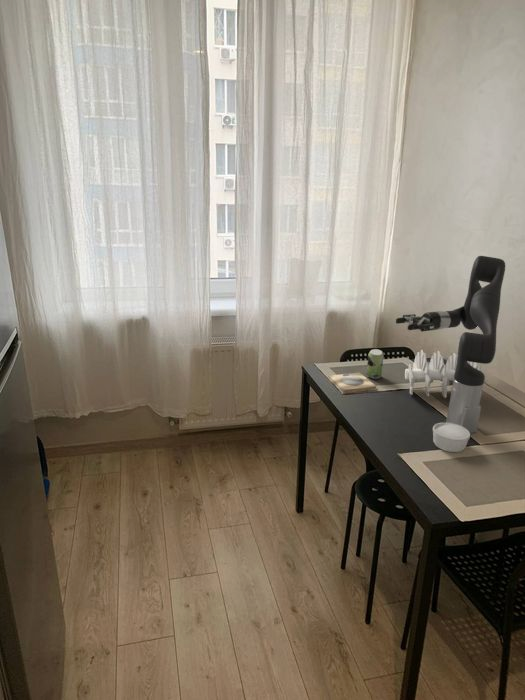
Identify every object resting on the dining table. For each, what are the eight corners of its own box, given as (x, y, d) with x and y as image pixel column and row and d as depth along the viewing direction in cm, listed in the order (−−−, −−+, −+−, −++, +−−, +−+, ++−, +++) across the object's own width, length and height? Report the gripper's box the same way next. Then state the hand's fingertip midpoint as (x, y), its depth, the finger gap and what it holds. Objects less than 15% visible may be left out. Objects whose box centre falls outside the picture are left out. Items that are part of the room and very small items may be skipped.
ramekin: (438, 432, 169) (440, 418, 167) (472, 444, 162) (475, 430, 161) (424, 445, 161) (427, 431, 159) (460, 458, 154) (463, 443, 152)
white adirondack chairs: (401, 397, 203) (467, 399, 200) (409, 397, 185) (480, 399, 182) (402, 351, 205) (467, 353, 202) (409, 347, 187) (480, 348, 184)
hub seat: (375, 389, 199) (376, 385, 199) (343, 393, 195) (343, 388, 195) (359, 375, 212) (359, 371, 211) (328, 378, 208) (328, 374, 207)
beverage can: (380, 374, 214) (383, 347, 209) (382, 381, 207) (385, 354, 203) (364, 373, 214) (367, 346, 210) (366, 380, 207) (369, 353, 203)
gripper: (426, 307, 215) (393, 310, 211) (448, 317, 203) (413, 320, 198) (424, 323, 218) (391, 327, 213) (445, 334, 206) (411, 338, 201)
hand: (402, 324), depth 206 cm, fingers open, 8 cm apart
